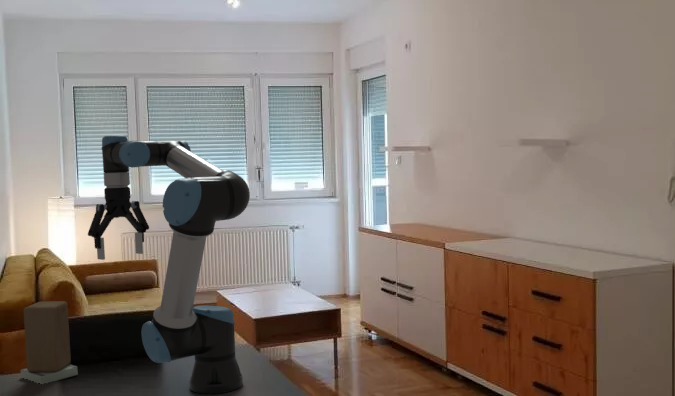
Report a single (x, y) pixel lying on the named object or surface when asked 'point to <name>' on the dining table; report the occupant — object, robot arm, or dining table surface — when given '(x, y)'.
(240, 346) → the dining table surface
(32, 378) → the dock
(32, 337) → the wooden block
